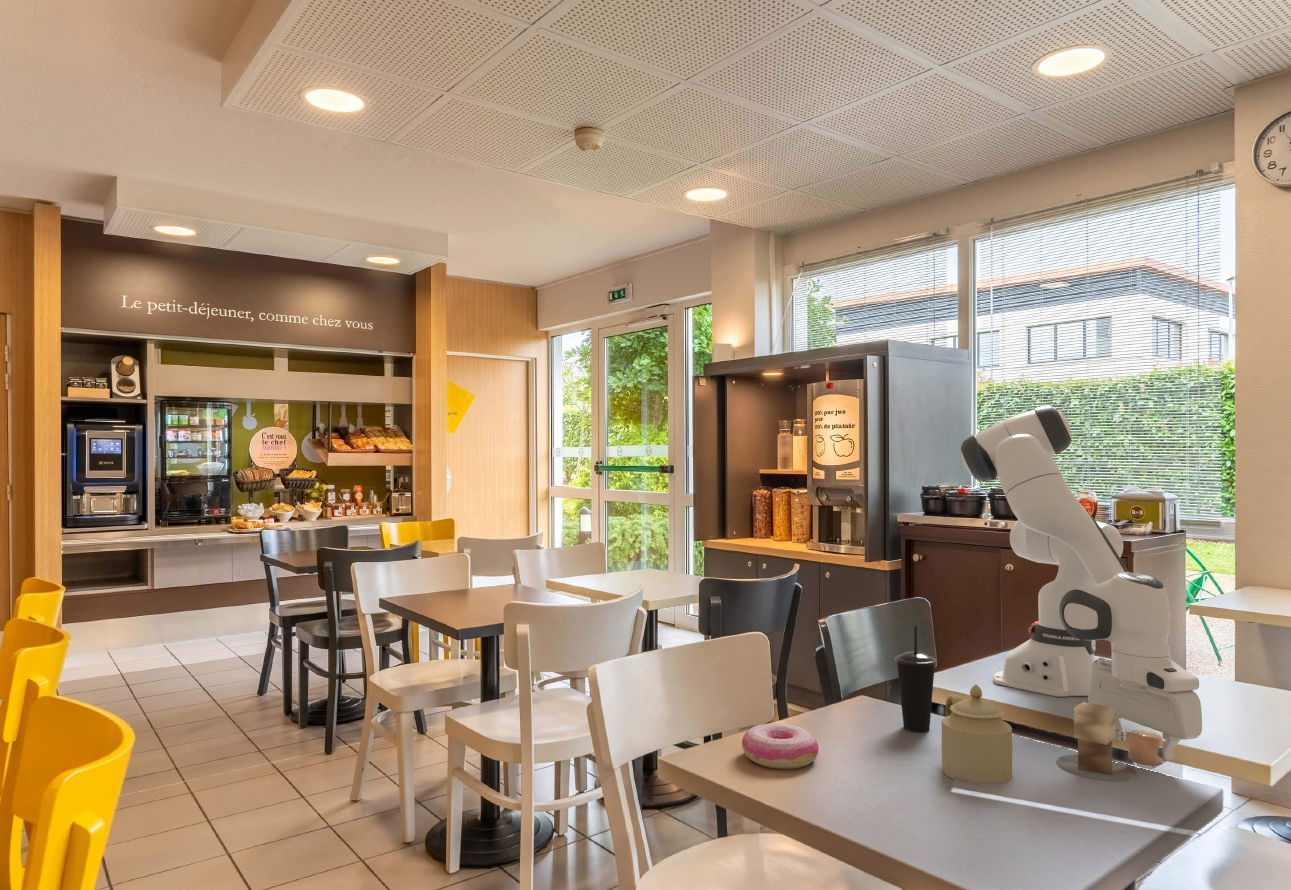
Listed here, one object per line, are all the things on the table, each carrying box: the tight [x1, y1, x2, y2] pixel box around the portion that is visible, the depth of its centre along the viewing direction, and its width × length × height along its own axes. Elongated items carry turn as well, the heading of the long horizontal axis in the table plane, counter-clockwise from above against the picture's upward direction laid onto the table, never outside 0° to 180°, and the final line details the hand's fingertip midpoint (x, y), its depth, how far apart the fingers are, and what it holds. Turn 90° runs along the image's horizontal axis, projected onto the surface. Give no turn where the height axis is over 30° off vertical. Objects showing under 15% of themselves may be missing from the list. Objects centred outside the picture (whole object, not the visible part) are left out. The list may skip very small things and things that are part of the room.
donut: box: [741, 722, 819, 770], centre depth 147 cm, size 14×13×5 cm
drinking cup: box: [894, 625, 937, 733], centre depth 163 cm, size 8×8×20 cm
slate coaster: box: [1055, 754, 1138, 782], centre depth 140 cm, size 12×12×1 cm
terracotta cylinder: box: [1127, 729, 1163, 767], centre depth 143 cm, size 5×5×5 cm
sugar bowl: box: [941, 684, 1013, 784], centre depth 141 cm, size 15×11×15 cm
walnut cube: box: [1077, 739, 1113, 775], centre depth 140 cm, size 5×5×5 cm
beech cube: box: [1073, 701, 1116, 745], centre depth 140 cm, size 5×5×5 cm
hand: (1141, 748), depth 143 cm, fingers open, 8 cm apart
